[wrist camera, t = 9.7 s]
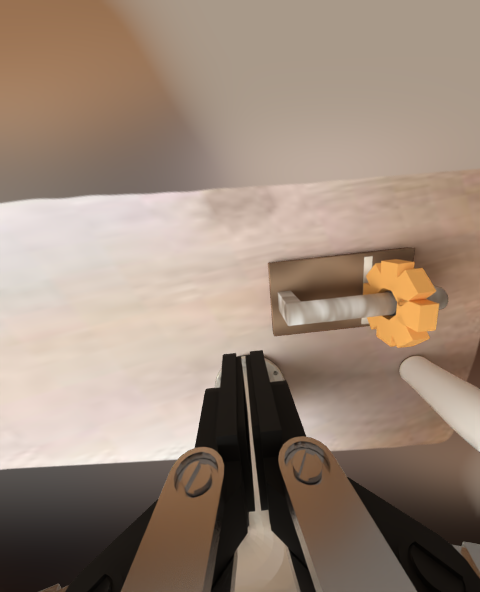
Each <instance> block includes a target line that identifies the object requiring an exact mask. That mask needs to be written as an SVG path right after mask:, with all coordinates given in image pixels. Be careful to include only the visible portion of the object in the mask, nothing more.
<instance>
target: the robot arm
mask: <svg viewBox="0 0 480 592" xmlns="http://www.w3.org/2000/svg"><path fill="white" fill-rule="evenodd" d="M40 592H480V545H479V544H474V543H468V542H463V544H462V547H460V546H455V545H451V544H450V543H448V542H447V541H446V540H444V539H443V538H442V537H441V536H439V535H438V534H436V533H435V532H433V531H432V530H430V529H428V528H427V527H425V526H424V525H422V524H421V523H419V522H417V521H416V520H414V519H412V518H411V517H410V516H408V515H406V514H405V513H403V512H402V511H400V510H399V509H397V508H395V507H394V506H392V505H391V504H389V503H388V502H386V501H384V500H383V499H381V498H380V497H378V496H376V495H375V494H373V493H372V492H370V491H369V490H367V489H366V488H364V487H362V486H361V485H359V484H358V483H356V482H355V481H353V480H351V479H350V478H348V477H347V476H346V475H345V473H344V472H343V470H342V468H341V467H340V465H339V464H338V462H337V460H336V459H335V457H334V455H333V454H332V453H331V451H330V450H329V449H328V448H327V447H326V446H325V445H324V444H323V443H321V442H320V441H318V440H316V439H313V438H310V437H306V435H305V432H304V429H303V426H302V423H301V421H300V418H299V415H298V412H297V409H296V406H295V404H294V401H293V398H292V395H291V392H290V389H289V387H288V384H287V381H286V380H284V378H283V375H282V373H281V371H280V369H279V368H278V367H277V366H276V365H275V364H274V363H273V362H271V361H270V360H268V359H266V358H264V355H263V351H262V350H261V351H251V352H250V355H247V356H237V357H236V353H233V354H224V355H223V360H222V369H221V370H220V372H219V373H218V375H217V378H216V383H215V388H209V389H206V390H205V395H204V400H203V406H202V411H201V417H200V422H199V428H198V433H197V439H196V444H195V448H194V449H192V450H189V451H187V452H186V453H184V454H183V455H182V456H180V458H179V459H178V460H177V461H176V462H175V463H174V465H173V467H172V468H171V470H170V472H169V475H168V477H167V480H166V482H165V485H164V487H163V489H162V492H161V494H160V497H159V499H158V500H157V501H156V502H154V503H153V504H152V505H151V506H150V507H149V508H148V509H147V510H146V511H145V512H144V513H143V514H142V515H141V516H140V517H139V518H138V519H137V520H136V521H135V522H133V523H132V524H131V525H130V526H129V527H128V528H127V529H126V530H125V531H124V532H123V533H122V534H121V535H120V536H119V537H118V538H116V539H115V540H114V541H113V542H112V543H111V544H110V545H109V546H108V547H107V548H106V549H105V550H104V551H103V552H102V553H101V554H100V555H99V556H98V557H97V558H95V559H94V560H93V561H92V562H91V563H90V564H89V565H88V566H87V567H86V568H85V569H84V570H83V571H82V572H81V573H80V574H79V575H78V576H77V577H76V578H75V579H74V581H73V582H72V583H71V584H70V585H69V586H66V587H64V588H61V587H60V585H59V584H57V585H54V586H52V587H49V588H47V589H45V590H42V591H40Z"/></svg>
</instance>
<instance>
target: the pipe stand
mask: <svg viewBox="0 0 480 592" xmlns="http://www.w3.org/2000/svg"><path fill="white" fill-rule="evenodd" d="M414 251H415V248H408V247H407V248H398V249H389V250H380V251H371V252H362V253H353V254H344V255H335V256H326V257H317V258H308V259H299V260H290V261H281V262H272V263H268V270H269V284H270V298H271V311H272V325H273V334H274V336H282V335H291V334H300V333H309V332H319V331H328V330H337V329H346V328H355V327H364V326H370V324H369V322H368V319H367V317H375V316H384V315H389V316H395V315H396V309H397V301H396V299H395V297H394V295H393V293H392V291H385V292H384V293H376V294H366V295H363V283H369V282H368V280H367V278H366V275H367V274H368V272H369V271H370V270H371V268H372V267H373V266H374V265H375V263H381V261H384V260H393V259H399V260H405V261H411V262H413V261H414ZM434 288H435V289H436V292H435V293H434V294H432V295H431V296H429V297H428V298H427V300H430V301H433V302H436V303H439V309H443V308H445V307H446V306H447V304H448V295H447V293H446V292H445V290H444V289H442V288H440V287H437V286H434Z"/></svg>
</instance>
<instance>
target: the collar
mask: <svg viewBox="0 0 480 592" xmlns="http://www.w3.org/2000/svg"><path fill="white" fill-rule="evenodd" d="M414 263H415V262H411V261H405V260H399V259H393V260H384V261H381V263H375V265H374V266H373V267H372V268H371V270H370V271H369V272H368V274H367V275H366V278H367V280H368V282H369V283H363V295H366V294H376V293H384V292H385V291H392V293H393V295H394V297H395V299H396V301H397V309H396V315H395V316H389V315H384V316H375V317H367V319H368V322H369V324H370V327H371V329H377V334H376V336H377V337H378V338H379V339H381V340H382V341H384V342H385V343H386V344H388V345H389V346H390V347H392V346H397V348H401V347H410V346H415V345H417V344H419V343H421V342H423V341H426V340H428V339H430V337H429V335H428V333H427V331H433V330H436V323H437V317H438V310H439V303H436V302H433V301H430V300H427V298H428V297H429V296H431V295H432V294H434V293H435V292H436V289H435V288H434V286H433V284H432V283H431V281H430V279H429V278H428V276H427V274H426V273H425V271H424V269H423V268H418V269H414Z"/></svg>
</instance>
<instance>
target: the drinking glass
mask: <svg viewBox="0 0 480 592" xmlns="http://www.w3.org/2000/svg"><path fill="white" fill-rule="evenodd" d="M399 373H400V376H401V377H402V378H403V379H404V380H405V381H406V382H407V383H408V384H409V385H410V386H411V387H412V388H413V389H414V390H415V391H416V392H417V393H418V394H419V395H420V396H421V397H422V398H423V399H424V400H425V401H426V402H427V403H428V404H429V405H430V406H431V407H432V408H433V409H434V410H435V411H436V412H437V413H438V414H439V416H440V417H441V418H442V419H443V420H444V421H445V422H446V423H447V424H448V425H449V426H450V427H451V428H452V429H453V430H454V431H456V432H457V433H458V434H459V435H460V436H461V437H462V438H463V439H464V440H466V441H467V442H468V443H469V444H470V445H471V446H473V447H474V448H475V449H476V450H478V451H479V452H480V389H479V388H477V387H476V386H474V385H472V384H470V383H468V382H466V381H465V380H463V379H461V378H459V377H457V376H455V375H453V374H452V373H450V372H448V371H446V370H444V369H443V368H441V367H439V366H437V365H435V364H434V363H432V362H430V361H429V360H427V359H426V358H424V357H421V356H412V357H409V358H407V359H406V360H404V361H403V362H402V364H401V365H400V368H399Z"/></svg>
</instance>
